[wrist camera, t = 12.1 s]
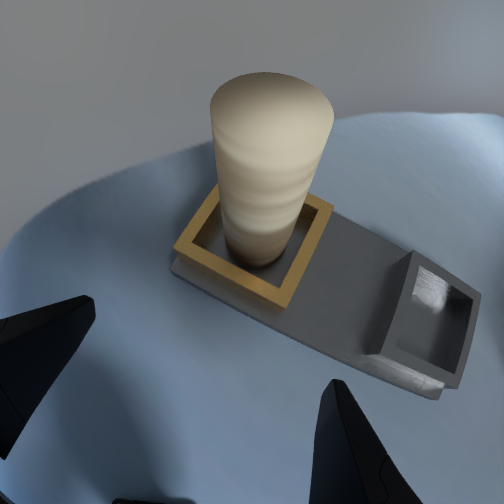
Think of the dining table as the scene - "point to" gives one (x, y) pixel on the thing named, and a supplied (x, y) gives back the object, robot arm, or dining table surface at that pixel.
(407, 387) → the grey socket board
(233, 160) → the peg
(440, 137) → the dining table surface
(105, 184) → the dining table surface
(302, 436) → the dining table surface
